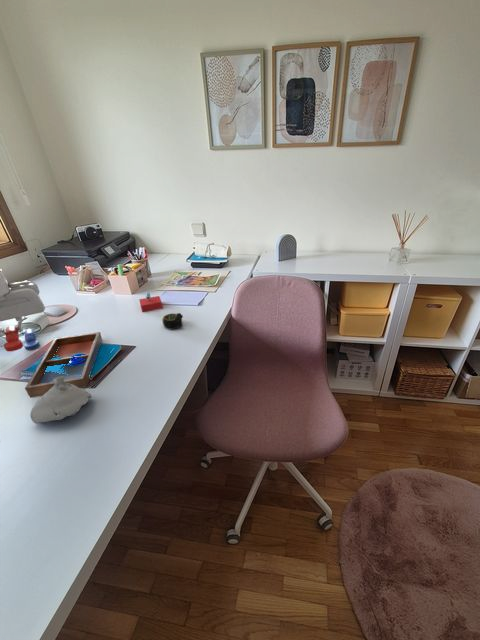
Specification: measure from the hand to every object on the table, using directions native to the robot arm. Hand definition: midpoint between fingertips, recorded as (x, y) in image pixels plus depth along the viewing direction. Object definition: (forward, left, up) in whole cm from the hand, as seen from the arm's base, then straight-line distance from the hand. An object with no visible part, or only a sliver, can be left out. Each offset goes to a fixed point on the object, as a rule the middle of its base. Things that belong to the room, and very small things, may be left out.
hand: (11, 333), depth 86 cm
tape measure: (+44, +11, -11) cm, 47 cm away
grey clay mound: (+17, -27, -11) cm, 34 cm away
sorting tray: (+13, -5, -10) cm, 18 cm away
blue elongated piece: (-3, +13, -10) cm, 17 cm away
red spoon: (+1, -2, -2) cm, 3 cm away
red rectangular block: (+35, +30, -11) cm, 47 cm away
